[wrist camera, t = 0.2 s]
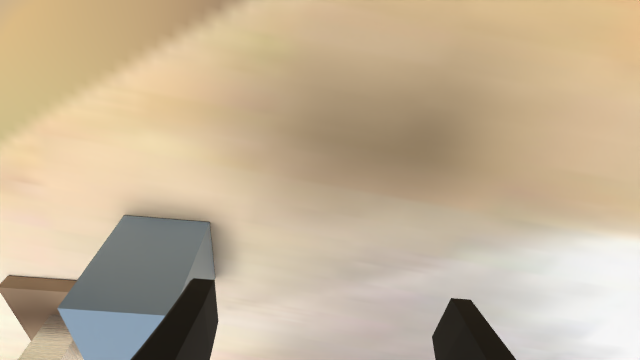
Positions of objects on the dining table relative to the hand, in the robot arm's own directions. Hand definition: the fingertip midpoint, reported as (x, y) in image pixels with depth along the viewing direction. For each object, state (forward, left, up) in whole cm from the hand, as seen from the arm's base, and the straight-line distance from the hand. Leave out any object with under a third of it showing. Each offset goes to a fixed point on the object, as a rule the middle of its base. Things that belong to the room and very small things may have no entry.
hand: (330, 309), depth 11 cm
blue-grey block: (-8, +9, -10) cm, 16 cm away
